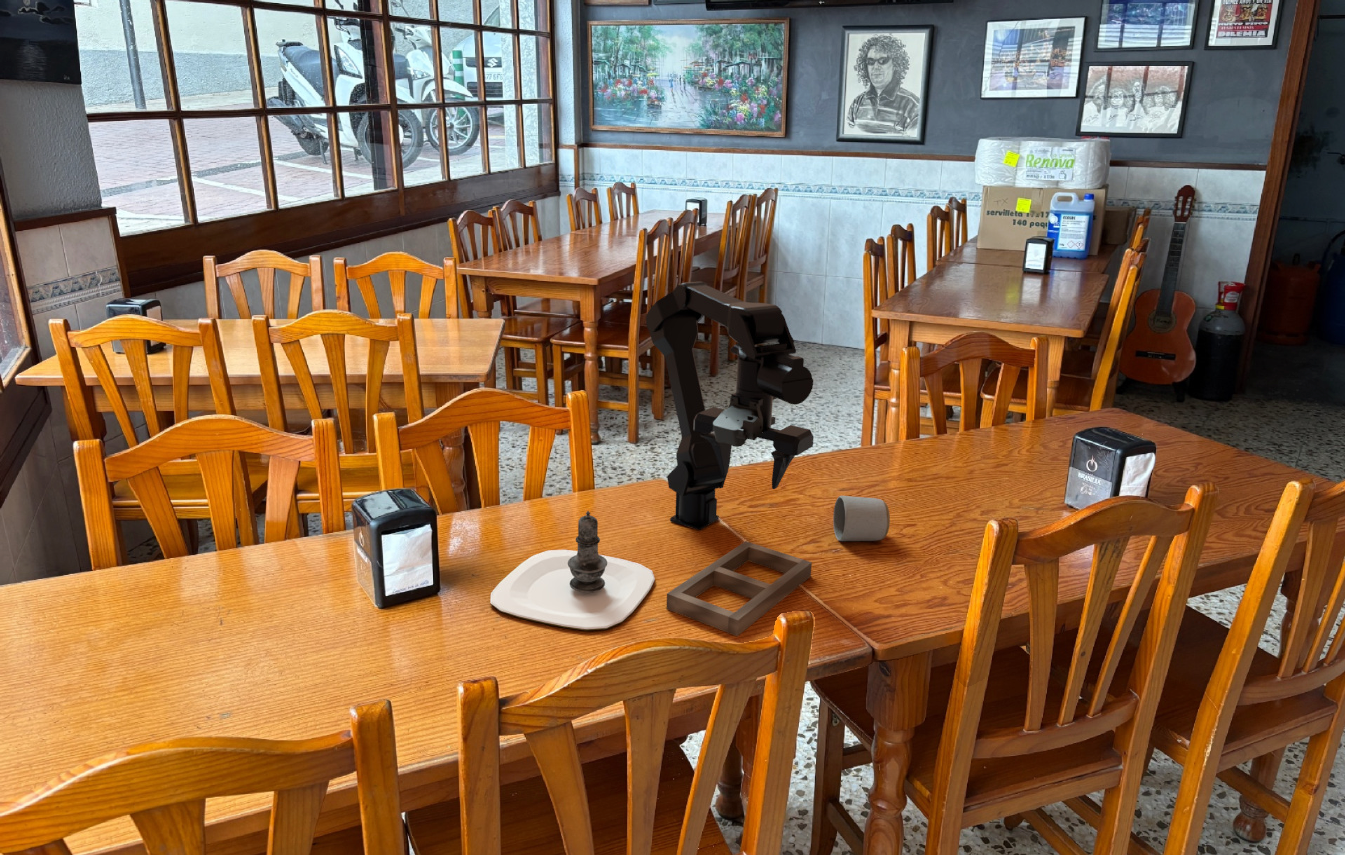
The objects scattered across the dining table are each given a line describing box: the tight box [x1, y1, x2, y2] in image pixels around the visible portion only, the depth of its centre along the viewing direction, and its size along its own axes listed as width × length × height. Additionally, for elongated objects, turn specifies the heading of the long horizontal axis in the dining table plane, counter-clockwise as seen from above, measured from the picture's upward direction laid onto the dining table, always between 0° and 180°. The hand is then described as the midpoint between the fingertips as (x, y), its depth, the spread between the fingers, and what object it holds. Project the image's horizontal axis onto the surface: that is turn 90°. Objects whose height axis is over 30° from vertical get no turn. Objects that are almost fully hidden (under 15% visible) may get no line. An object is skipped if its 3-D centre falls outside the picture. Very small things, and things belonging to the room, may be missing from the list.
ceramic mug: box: [832, 495, 891, 542], centre depth 158 cm, size 11×8×8 cm
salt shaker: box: [568, 510, 607, 593], centre depth 136 cm, size 6×6×12 cm
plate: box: [490, 549, 656, 631], centre depth 138 cm, size 22×22×2 cm
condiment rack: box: [665, 541, 813, 637], centre depth 138 cm, size 12×22×2 cm, turn 145°
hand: (749, 481), depth 146 cm, fingers open, 9 cm apart
